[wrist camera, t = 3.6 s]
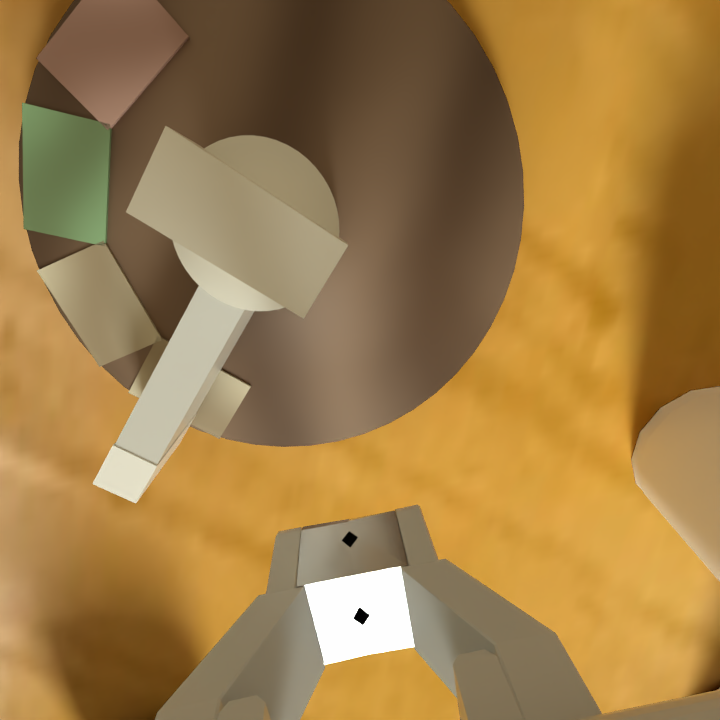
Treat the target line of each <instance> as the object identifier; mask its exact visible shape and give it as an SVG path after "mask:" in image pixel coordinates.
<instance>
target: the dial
mask: <svg viewBox="0 0 720 720" xmlns="http://www.w3.org/2000/svg"><path fill="white" fill-rule="evenodd" d="M36 59H37V60H38V61H39V62H38V64H37V66H36V69H35V71H34V75H33V78H32V82H31V85H30V89H29V92H28V95H27V99H26V102H25V103H22V127H21V134H20V141H19V184H20V192H21V201H22V209H23V216H24V229H26V230H27V232H28V236H29V240H30V244H31V248H32V251H33V254H34V257H35V259H36V262H37V264H38V267H39V270H37V272H38V273H39V275H40V276H41V278H42V279H43V281H44V283H45V285H46V286H47V288H48V290H49V292H50V294H51V296H52V298H53V300H54V302H55V304H56V306H57V307H58V309H59V311H60V313H61V314H62V316H63V317H64V319H65V320H66V322H67V323H68V325H69V326H70V328H71V329H72V331H73V332H74V334H75V335H76V336H77V338H78V339H79V341H80V342H81V343H82V344H83V345H84V347H85V348H86V349H87V350H88V351H89V352H90V353H91V355H92V356H93V358H94V359H95V361H96V362H97V364H98V365H99V367H100V366H102V367H103V368H104V369H105V370H106V371H108V372H109V373H110V374H111V375H112V376H113V377H114V378H115V379H116V380H117V381H118V382H119V383H121V384H122V385H123V386H124V387H125V388H127V389H128V390H129V392H128V393H130V394H132V395H134V396H136V397H138V398H140V396H141V394H142V392H143V390H144V389H145V387H146V385H147V383H148V381H149V379H150V377H151V375H152V373H153V371H154V370H155V368H156V366H157V364H158V362H159V360H160V358H161V356H162V354H163V353H164V351H165V349H166V347H167V345H168V343H169V341H170V339H171V337H172V335H173V334H174V332H175V330H176V328H177V326H178V324H179V322H180V320H181V318H182V317H183V315H184V313H185V311H186V309H187V307H188V305H189V303H190V301H191V299H192V298H193V296H194V294H195V292H196V290H197V288H198V286H199V285H198V284H197V283H196V282H195V281H194V280H193V279H192V278H191V276H190V275H189V273H188V272H187V271H186V269H185V268H184V266H183V264H182V263H181V261H180V259H179V257H178V255H177V252H176V250H175V247H174V244H173V240H172V239H170V238H168V237H167V236H165V235H163V234H162V233H160V232H158V231H157V230H155V229H153V228H152V227H150V226H148V225H147V224H145V223H143V222H142V221H140V220H138V219H137V218H135V217H133V216H132V215H130V214H128V213H127V212H126V211H127V208H128V206H129V204H130V202H131V200H132V198H133V195H134V193H135V191H136V189H137V187H138V184H139V182H140V180H141V178H142V176H143V174H144V171H145V169H146V167H147V165H148V163H149V161H150V158H151V156H152V154H153V152H154V150H155V147H156V145H157V143H158V141H159V139H160V137H161V134H162V132H163V130H164V128H165V126H167V127H169V128H171V129H172V130H174V131H176V132H178V133H179V134H181V135H183V136H184V137H186V138H188V139H190V140H191V141H193V142H195V143H197V144H198V145H200V146H201V147H203V148H206V147H207V146H209V145H211V144H213V143H215V142H217V141H219V140H223V139H226V138H229V137H234V136H241V135H254V136H262V137H267V138H271V139H274V140H277V141H280V142H282V143H284V144H287V145H288V146H290V147H292V148H293V149H295V150H297V151H298V152H300V153H301V154H302V155H303V156H305V157H306V158H307V159H308V160H309V161H310V162H311V163H312V164H313V165H314V166H315V167H316V168H317V170H318V171H319V172H320V173H321V175H322V176H323V178H324V179H325V181H326V183H327V184H328V186H329V188H330V190H331V193H332V195H333V197H334V200H335V204H336V207H337V212H338V218H339V238H341V239H342V240H344V241H345V242H347V244H348V247H347V248H346V250H345V252H344V253H343V255H342V256H341V258H340V260H339V261H338V263H337V265H336V266H335V268H334V270H333V271H332V273H331V275H330V276H329V278H328V279H327V281H326V283H325V284H324V286H323V288H322V289H321V291H320V293H319V294H318V296H317V298H316V299H315V301H314V302H313V304H312V306H311V307H310V309H309V311H308V312H307V314H306V316H305V317H304V319H303V318H302V317H300V316H298V315H297V314H295V313H293V312H292V311H290V310H288V309H287V308H282V309H278V310H272V311H254V313H253V315H252V316H251V318H250V320H249V322H248V323H247V325H246V327H245V329H244V330H243V332H242V334H241V336H240V337H239V339H238V341H237V343H236V344H235V346H234V348H233V349H232V351H231V353H230V355H229V356H228V358H227V360H226V362H225V363H224V365H223V367H222V369H221V370H220V372H219V374H218V376H217V377H216V379H215V381H214V383H213V384H212V386H211V388H210V390H209V391H208V393H207V395H206V397H205V398H204V400H203V402H202V404H201V405H200V407H199V409H198V411H197V412H196V413H197V414H196V416H195V418H194V419H193V421H192V423H191V425H190V426H191V427H193V428H195V429H197V430H200V431H202V432H206V433H209V434H211V435H213V436H215V437H217V438H219V439H220V437H222V438H225V439H228V440H234V441H239V442H244V443H250V444H255V445H267V446H281V447H288V446H311V445H317V444H324V443H330V442H336V441H340V440H344V439H347V438H351V437H354V436H358V435H361V434H365V433H367V432H369V431H372V430H374V429H377V428H379V427H381V426H384V425H386V424H389V423H391V422H392V421H394V420H396V419H398V418H399V417H401V416H403V415H405V414H406V413H408V412H410V411H412V410H413V409H415V408H416V407H417V406H419V405H420V404H422V403H423V402H424V401H426V400H427V399H428V398H430V397H431V396H432V395H434V394H435V393H436V392H437V391H438V390H439V389H441V388H442V387H443V386H444V385H445V384H446V383H447V382H448V381H449V380H450V379H451V378H452V377H453V376H454V375H455V374H456V373H457V372H458V371H459V370H460V369H461V367H462V366H463V365H464V364H465V363H466V361H467V360H468V359H469V358H470V357H471V355H472V354H473V353H474V352H475V350H476V349H477V347H478V346H479V344H480V343H481V341H482V339H483V338H484V336H485V335H486V333H487V332H488V330H489V329H490V327H491V325H492V323H493V321H494V319H495V317H496V315H497V313H498V311H499V309H500V307H501V305H502V303H503V301H504V298H505V295H506V292H507V289H508V286H509V283H510V281H511V278H512V275H513V272H514V268H515V264H516V259H517V254H518V250H519V245H520V241H521V232H522V221H523V211H524V190H523V168H522V162H521V155H520V149H519V142H518V136H517V132H516V129H515V125H514V122H513V118H512V115H511V111H510V108H509V104H508V101H507V98H506V96H505V94H504V91H503V89H502V87H501V84H500V82H499V80H498V77H497V75H496V72H495V70H494V68H493V66H492V64H491V62H490V61H489V59H488V57H487V56H486V54H485V52H484V50H483V49H482V47H481V45H480V44H479V42H478V40H477V39H476V37H475V35H474V34H473V32H472V31H471V30H470V28H469V27H468V26H467V25H466V23H465V22H464V21H463V19H462V18H461V17H460V16H459V14H458V13H457V12H456V10H455V9H454V8H453V7H452V5H451V4H450V3H449V2H448V1H447V0H74V1H73V2H72V4H71V5H70V7H69V8H68V10H67V11H66V13H65V14H64V16H63V17H62V19H61V20H60V22H59V23H58V25H57V26H56V28H55V29H54V31H53V33H52V34H51V36H50V38H49V40H48V42H47V45H46V46H45V47H44V49H43V50H42V51H41V53H40V54H39V55H38V56H37V58H36Z"/></svg>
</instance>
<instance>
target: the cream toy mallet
mask: <svg viewBox="0 0 720 720" xmlns="http://www.w3.org/2000/svg"><path fill="white" fill-rule="evenodd" d="M126 212H127V213H128V214H130V215H132V216H133V217H135V218H137V219H138V220H140V221H142V222H143V223H145V224H147V225H148V226H150V227H152V228H153V229H155V230H157V231H158V232H160V233H162V234H163V235H165V236H167V237H168V238H170V239H172V240H173V244H174V247H175V250H176V252H177V255H178V257H179V259H180V261H181V263H182V264H183V266H184V268H185V269H186V271H187V272H188V273H189V275H190V276H191V278H192V279H193V280H194V281H195V282H196V283H197V284H198V285H199V286H198V288H197V290H196V292H195V294H194V296H193V298H192V299H191V301H190V303H189V305H188V307H187V309H186V311H185V313H184V315H183V317H182V318H181V320H180V322H179V324H178V326H177V328H176V330H175V332H174V334H173V335H172V337H171V339H170V341H169V343H168V345H167V347H166V349H165V351H164V353H163V354H162V356H161V358H160V360H159V362H158V364H157V366H156V368H155V370H154V371H153V373H152V375H151V377H150V379H149V381H148V383H147V385H146V387H145V389H144V390H143V392H142V394H141V396H140V398H139V400H138V402H137V404H136V406H135V407H134V409H133V411H132V413H131V415H130V417H129V419H128V421H127V423H126V424H125V426H124V428H123V430H122V432H121V434H120V436H119V438H118V440H117V442H116V443H115V444H114V445H113V446H112V448H111V450H110V452H109V454H108V455H107V457H106V459H105V461H104V463H103V465H102V467H101V469H100V471H99V473H98V474H97V476H96V478H95V480H94V482H93V484H94V485H96V486H98V487H100V488H103V489H105V490H107V491H109V492H112V493H114V494H116V495H118V496H120V497H123V498H125V499H127V500H129V501H131V502H134V503H137V501H138V500H139V499H140V497H141V496H142V495H143V493H144V492H145V490H146V489H147V488H148V486H149V485H150V484H151V482H152V481H153V479H154V478H155V477H156V475H157V474H158V473H159V471H160V470H161V468H162V467H163V466H164V464H165V463H166V462H167V460H168V459H169V457H170V456H171V455H172V453H173V452H174V451H175V449H176V448H177V446H178V445H179V444H180V442H181V440H182V438H183V437H184V435H185V433H186V431H187V430H188V428H189V426H190V425H191V423H192V421H193V419H194V418H195V416H196V414H197V413H196V412H197V411H198V409H199V407H200V405H201V404H202V402H203V400H204V398H205V397H206V395H207V393H208V391H209V390H210V388H211V386H212V384H213V383H214V381H215V379H216V377H217V376H218V374H219V372H220V370H221V369H222V367H223V365H224V363H225V362H226V360H227V358H228V356H229V355H230V353H231V351H232V349H233V348H234V346H235V344H236V343H237V341H238V339H239V337H240V336H241V334H242V332H243V330H244V329H245V327H246V325H247V323H248V322H249V320H250V318H251V316H252V315H253V313H254V311H272V310H278V309H282V308H287V309H288V310H290V311H292V312H293V313H295V314H297V315H298V316H300V317H302V318H303V319H304V317H305V316H306V314H307V312H308V311H309V309H310V307H311V306H312V304H313V302H314V301H315V299H316V298H317V296H318V294H319V293H320V291H321V289H322V288H323V286H324V284H325V283H326V281H327V279H328V278H329V276H330V275H331V273H332V271H333V270H334V268H335V266H336V265H337V263H338V261H339V260H340V258H341V256H342V255H343V253H344V252H345V250H346V248H347V247H348V244H347V242H345V241H344V240H342V239H341V238H339V218H338V212H337V207H336V204H335V200H334V197H333V195H332V193H331V190H330V188H329V186H328V184H327V183H326V181H325V179H324V178H323V176H322V175H321V173H320V172H319V171H318V170H317V168H316V167H315V166H314V165H313V164H312V163H311V162H310V161H309V160H308V159H307V158H306V157H305V156H303V155H302V154H301V153H300V152H298V151H297V150H295V149H293V148H292V147H290V146H288V145H287V144H284V143H282V142H280V141H277V140H274V139H271V138H267V137H262V136H254V135H241V136H234V137H229V138H226V139H223V140H219V141H217V142H215V143H213V144H211V145H209V146H207V147H206V148H203V147H201V146H200V145H198V144H197V143H195V142H193V141H191V140H190V139H188V138H186V137H184V136H183V135H181V134H179V133H178V132H176V131H174V130H172V129H171V128H169V127H167V126H165V128H164V130H163V132H162V134H161V137H160V139H159V141H158V143H157V145H156V147H155V150H154V152H153V154H152V156H151V158H150V161H149V163H148V165H147V167H146V169H145V171H144V174H143V176H142V178H141V180H140V182H139V184H138V187H137V189H136V191H135V193H134V195H133V198H132V200H131V202H130V204H129V206H128V208H127V211H126Z"/></svg>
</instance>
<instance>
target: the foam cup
mask: <svg viewBox="0 0 720 720" xmlns="http://www.w3.org/2000/svg"><path fill="white" fill-rule="evenodd" d="M631 461H632V466H633V471H634V476H635V482H636V484H637V485H638V486H639V487H640V488H641V489H642V490H643V493H644V494H645V495H646V496H647V498H648V499H649V500H650V501H651V502H652V503H653V505H654V506H655V507H656V508H657V509H658V510H659V512H660V513H661V514H662V515H663V516H664V517H665V519H666V520H667V521H668V522H669V523H670V524H671V526H672V527H673V528H674V529H675V530H676V531H677V533H678V534H679V535H680V536H681V537H682V538H683V540H684V541H685V542H686V543H687V544H688V545H689V547H690V548H691V549H692V550H693V551H694V552H695V554H696V555H697V556H698V557H699V558H700V559H701V560H702V562H703V563H704V564H705V565H706V566H707V567H708V569H709V570H710V571H711V572H712V573H713V574H714V576H715V577H716V578H717V579H718V580H719V581H720V386H719V387H712V388H705V389H698V390H692V391H689V392H687V393H686V394H684V395H682V396H680V397H679V398H677V399H675V400H673V401H671V402H670V403H668V404H666V405H664V406H663V407H661V408H660V409H659V410H658V412H657V413H656V414H655V415H654V416H653V417H652V419H651V420H650V421H649V422H648V423H647V424H646V426H645V427H644V428H643V429H642V430H641V432H640V434H639V437H638V440H637V443H636V446H635V449H634V452H633V455H632V459H631Z"/></svg>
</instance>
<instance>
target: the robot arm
mask: <svg viewBox="0 0 720 720" xmlns="http://www.w3.org/2000/svg"><path fill="white" fill-rule="evenodd" d="M409 647H414V648H415V650H416V651H417V652H418V653H419V655H420V656H421V657H422V658H423V659H424V660H425V661H426V663H427V664H428V665H429V666H430V667H431V668H432V670H433V671H434V672H435V673H436V674H437V675H438V676H439V678H440V679H441V680H442V681H443V682H444V683H445V685H446V686H447V687H448V688H449V689H450V690H451V692H452V693H453V694H454V695H455V696H456V697H457V700H458V707H459V715H460V720H720V688H719V689H718V690H716V691H711V692H706V693H701V694H696V695H691V696H687V697H682V698H677V699H672V700H667V701H662V702H657V703H653V704H648V705H643V706H638V707H633V708H628V709H624V710H619V711H614V712H609V713H604V714H602V713H601V711H600V709H599V708H598V706H597V704H596V702H595V701H594V699H593V697H592V696H591V694H590V692H589V690H588V689H587V687H586V685H585V683H584V682H583V680H582V678H581V676H580V675H579V673H578V671H577V669H576V668H575V666H574V664H573V662H572V661H571V659H570V657H569V656H568V654H567V652H566V650H565V649H564V647H563V645H562V643H561V642H560V640H559V638H558V636H557V635H556V633H555V632H553V631H552V630H550V629H549V628H547V627H546V626H544V625H543V624H541V623H540V622H538V621H537V620H535V619H534V618H532V617H531V616H529V615H528V614H527V613H525V612H524V611H522V610H521V609H519V608H518V607H516V606H515V605H513V604H512V603H510V602H509V601H507V600H506V599H504V598H503V597H501V596H500V595H498V594H497V593H495V592H494V591H493V590H491V589H490V588H488V587H487V586H485V585H484V584H482V583H481V582H479V581H478V580H476V579H475V578H473V577H472V576H470V575H469V574H467V573H466V572H464V571H463V570H462V569H460V568H459V567H457V566H456V565H454V564H453V563H451V562H450V561H448V560H447V559H442V560H438V557H437V554H436V552H435V549H434V546H433V543H432V540H431V537H430V534H429V531H428V528H427V526H426V523H425V520H424V517H423V514H422V511H421V508H420V506H418V505H413V506H409V507H404V508H400V509H395V511H390V512H385V513H380V514H375V515H370V516H364V517H359V518H354V519H347V520H341V521H335V522H329V523H323V524H317V525H311V526H305V527H303V528H301V527H300V528H295V529H289V530H284V531H279V532H278V534H277V536H276V539H275V545H274V550H273V556H272V562H271V568H270V574H269V579H268V585H267V591H266V594H263V595H259V596H258V597H257V598H256V599H255V600H254V601H253V602H252V604H251V605H250V606H249V607H248V608H247V609H246V611H245V612H244V613H243V614H242V615H241V616H240V617H239V619H238V620H237V621H236V622H235V623H234V624H233V626H232V627H231V628H230V629H229V630H228V631H227V632H226V634H225V635H224V636H223V637H222V638H221V639H220V641H219V642H218V643H217V644H216V645H215V646H214V647H213V649H212V650H211V651H210V652H209V653H208V654H207V656H206V657H205V658H204V659H203V660H202V661H201V662H200V664H199V665H198V666H197V667H196V668H195V669H194V671H193V672H192V673H191V674H190V675H189V676H188V677H187V679H186V680H185V681H184V682H183V683H182V684H181V686H180V687H179V688H178V689H177V690H176V691H175V692H174V694H173V695H172V696H171V697H170V698H169V699H168V701H167V702H166V703H165V704H164V705H163V706H162V708H161V709H160V710H159V711H158V712H157V715H156V718H155V720H300V718H301V716H302V714H303V712H304V710H305V708H306V706H307V704H308V702H309V700H310V698H311V696H312V694H313V691H314V689H315V687H316V685H317V683H318V681H319V679H320V677H321V675H322V673H323V671H324V669H325V666H324V665H325V664H329V663H333V662H337V661H342V660H346V659H350V658H355V657H359V656H363V655H368V654H373V653H379V652H385V651H391V650H397V649H403V648H409Z"/></svg>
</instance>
